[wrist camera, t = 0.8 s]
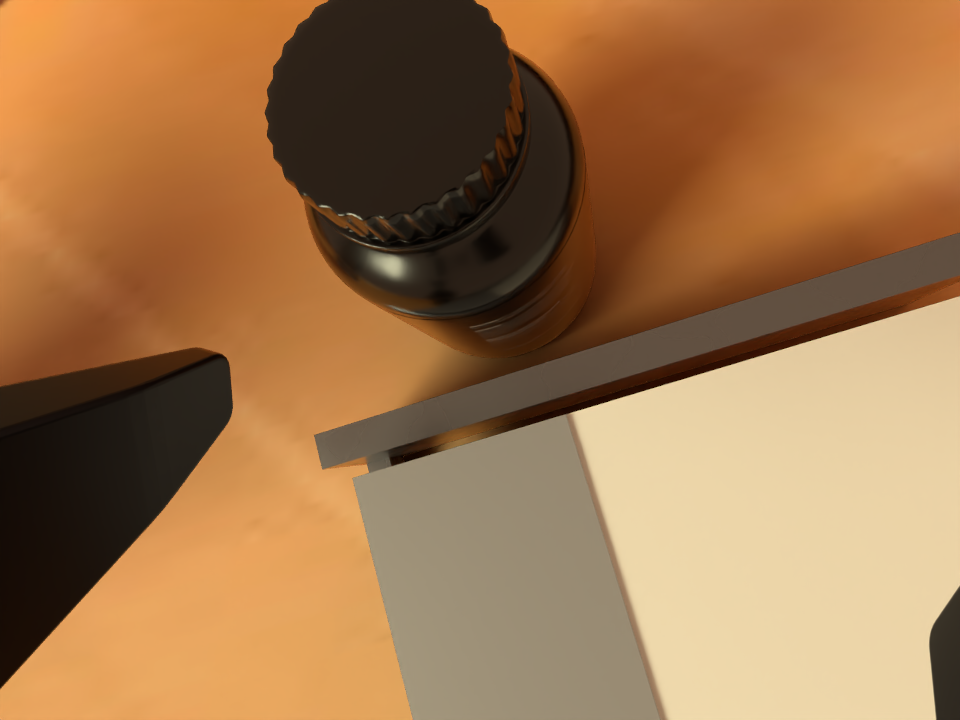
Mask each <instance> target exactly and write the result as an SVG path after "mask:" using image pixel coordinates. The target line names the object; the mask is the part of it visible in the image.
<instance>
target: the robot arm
mask: <svg viewBox="0 0 960 720" xmlns="http://www.w3.org/2000/svg"><path fill="white" fill-rule="evenodd" d="M232 409H233V401H232V389H231V377H230V366H229V362H228V360H227V358H226V357H225V356H224V355H222V354H220V353H217V352H213V351H210V350H206V349H203V348H196V347H195V348H189V349H184V350H179V351H174V352H169V353H164V354H159V355H154V356H149V357H144V358H139V359H135V360H130V361H125V362H120V363H115V364H110V365H105V366H100V367H95V368H90V369H85V370H80V371H75V372H70V373H65V374H60V375H55V376H50V377H45V378H40V379H35V380H30V381H25V382H20V383H15V384H10V385H5V386H0V689H1V688H2V687H3V686H4V685H5V683H6V682H7V681H8V680H9V679H10V678H11V677H12V676H13V675H14V674H15V672H16V671H17V670H18V669H19V668H20V667H21V666H22V665H23V664H24V663H25V661H26V660H27V659H28V658H29V657H30V656H31V655H32V654H33V653H34V652H35V650H36V649H37V648H38V647H39V646H40V645H41V644H42V643H43V642H44V641H45V639H46V638H47V637H48V636H49V635H50V634H51V633H52V632H53V631H54V630H55V629H56V627H57V626H58V625H59V624H60V623H61V622H62V621H63V620H64V619H65V618H66V616H67V615H68V614H69V613H70V612H71V611H72V610H73V609H74V608H75V607H76V605H77V604H78V603H79V602H80V601H81V600H82V599H83V598H84V597H85V596H86V594H87V593H88V592H89V591H90V590H91V589H92V588H93V587H94V586H95V585H96V583H97V582H98V581H99V580H100V579H101V578H102V577H103V576H104V575H105V574H106V572H107V571H108V570H109V569H110V568H111V567H112V566H113V565H114V564H115V563H116V562H117V560H118V559H119V558H120V557H121V556H122V555H123V554H124V553H125V552H126V551H127V549H128V548H129V547H130V546H131V545H132V544H133V543H134V542H135V541H136V540H137V538H138V537H139V536H140V535H141V534H142V533H143V532H144V531H145V530H146V529H147V527H148V526H149V525H150V524H151V523H152V522H153V521H154V520H155V518H156V517H157V516H158V515H159V514H160V513H161V511H162V510H163V509H164V508H165V507H166V505H167V504H168V503H169V501H170V500H171V499H172V498H173V496H174V495H175V494H176V492H177V491H178V490H179V488H180V487H181V486H182V484H183V483H184V482H185V480H186V479H187V478H188V476H189V475H190V474H191V472H192V471H193V470H194V468H195V467H196V465H197V464H198V463H199V461H200V460H201V459H202V457H203V456H204V455H205V453H206V452H207V451H208V449H209V448H210V447H211V445H212V444H213V443H214V441H215V440H216V439H217V437H218V436H219V434H220V433H221V432H222V430H223V429H224V428H225V426H226V425H227V423H228V422H229V419H230V417H231V414H232ZM929 652H930V663H931V673H932V683H933V694H934V704H935V714H936V720H960V586H959V587H958V589H957V590H956V592H955V593H954V594H953V596H952V597H951V599H950V600H949V602H948V603H947V605H946V606H945V608H944V609H943V610H942V612H941V613H940V615H939V616H938V618H937V619H936V621H935V622H934V624H933V626H932V629H931V632H930V637H929Z"/></svg>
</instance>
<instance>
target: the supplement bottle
mask: <svg viewBox="0 0 960 720" xmlns="http://www.w3.org/2000/svg"><path fill="white" fill-rule="evenodd" d="M267 95H268V99H269V102H268V104H267V107H266V110H265V115H266V119H267V121H268V123H269V124H268V131H267V137H268V139H269V140H270V142H271V143H272V144H273V156H274V159H275V161H276V162H277V163H278V164H279V165H280V166H281V167H282V169H283V173H284V177H285V179H286V180H287V181H288V182H289V183H290V184H291V185H292V186H293V187H295V188H296V189H297V190H298V192H299V194H300V196H301V197H302V198H303V199H304V204H305V210H306V215H307V219H308V223H309V227H310V230H311V233H312V235H313V238H314V240H315V243H316V245H317V247H318V249H319V251H320V252H321V254H322V256H323V257H324V259H325V260H326V262H327V264H328V265H329V266H330V268H331V269H332V270H333V271H334V273H335V274H336V275H337V276H338V277H339V278H340V279H341V280H342V281H343V282H344V283H345V284H346V285H347V286H349V287H350V288H351V289H352V290H353V291H355V292H356V293H357V294H358V295H360V296H361V297H363V298H364V299H366V300H367V301H369V302H371V303H372V304H374V305H376V306H378V307H379V308H381V309H383V310H385V311H386V312H388V313H390V314H392V315H393V316H395V317H397V318H399V319H401V320H402V321H404V322H406V323H408V324H409V325H411V326H413V327H415V328H417V329H418V330H420V331H422V332H424V333H425V334H427V335H429V336H431V337H433V338H434V339H436V340H438V341H440V342H442V343H443V344H445V345H447V346H449V347H451V348H453V349H455V350H458V351H460V352H463V353H466V354H469V355H473V356H478V357H484V358H506V357H513V356H518V355H522V354H525V353H528V352H531V351H533V350H536V349H538V348H540V347H542V346H544V345H545V344H547V343H549V342H550V341H552V340H553V339H555V338H556V337H557V336H558V335H560V334H561V333H562V332H563V331H564V330H565V329H566V328H567V327H568V326H569V325H570V324H571V323H572V322H573V320H574V319H575V318H576V317H577V315H578V314H579V312H580V311H581V309H582V307H583V305H584V303H585V302H586V300H587V297H588V295H589V292H590V290H591V286H592V283H593V278H594V273H595V265H596V247H595V236H594V227H593V219H592V211H591V202H590V194H589V186H588V177H587V169H586V161H585V153H584V147H583V143H582V139H581V135H580V131H579V127H578V125H577V122H576V119H575V116H574V114H573V112H572V109H571V107H570V105H569V103H568V102H567V100H566V98H565V97H564V95H563V93H562V92H561V91H560V89H559V88H558V87H557V85H556V84H555V83H554V82H553V80H552V79H551V78H550V77H549V76H548V75H547V74H546V73H545V72H544V71H543V70H542V69H541V68H540V67H538V66H537V65H536V64H535V63H534V62H532V61H531V60H529V59H528V58H526V57H525V56H523V55H522V54H520V53H518V52H516V51H514V50H513V49H511V48H509V47H508V45H507V41H506V38H505V34H504V32H503V30H502V29H501V28H500V27H499V26H498V25H497V24H496V23H494V22H493V19H492V16H491V13H490V12H489V10H488V9H487V8H485V7H483V6H481V5H479V4H477V3H476V1H475V0H328V2H326V3H324V4H321V5H319V6H317V7H315V9H314V10H313V12H312V14H311V15H310V17H309V18H308V19H306V20H304V21H303V22H301V23H300V24H299V25H298V26H297V28H296V31H295V33H294V36H293V37H292V38H291V39H289V40H288V41H287V42H286V43H285V44H284V47H283V50H282V56H281V57H280V59H279V60H278V61H277V63H276V64H275V65H274V67H273V79H272V81H271V83H270V85H269V87H268V89H267Z"/></svg>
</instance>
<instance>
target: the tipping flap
mask: <svg viewBox="0 0 960 720" xmlns="http://www.w3.org/2000/svg"><path fill="white" fill-rule="evenodd" d="M353 482H354V486H355V490H356V494H357V498H358V502H359V506H360V510H361V514H362V518H363V522H364V526H365V530H366V534H367V538H368V542H369V546H370V550H371V554H372V558H373V562H374V566H375V570H376V574H377V578H378V582H379V586H380V590H381V594H382V598H383V602H384V606H385V610H386V614H387V618H388V622H389V626H390V630H391V634H392V638H393V642H394V646H395V650H396V654H397V658H398V662H399V666H400V670H401V674H402V678H403V682H404V686H405V690H406V694H407V698H408V702H409V706H410V710H411V714H412V718H413V720H936V714H935V704H934V694H933V683H932V673H931V663H930V652H929V637H930V632H931V629H932V626H933V624H934V622H935V621H936V619H937V618H938V616H939V615H940V613H941V612H942V610H943V609H944V608H945V606H946V605H947V603H948V602H949V600H950V599H951V597H952V596H953V594H954V593H955V592H956V590H957V589H958V587H959V586H960V296H959V297H956V298H952V299H949V300H946V301H942V302H939V303H936V304H932V305H929V306H926V307H922V308H919V309H916V310H912V311H909V312H906V313H902V314H899V315H896V316H892V317H889V318H886V319H882V320H879V321H876V322H872V323H869V324H866V325H862V326H859V327H856V328H852V329H849V330H846V331H842V332H839V333H836V334H832V335H829V336H826V337H822V338H819V339H816V340H812V341H809V342H806V343H802V344H799V345H796V346H792V347H789V348H786V349H782V350H779V351H776V352H772V353H769V354H766V355H762V356H759V357H756V358H752V359H749V360H746V361H742V362H739V363H736V364H732V365H729V366H726V367H722V368H719V369H716V370H712V371H709V372H706V373H702V374H699V375H696V376H692V377H689V378H686V379H682V380H679V381H676V382H672V383H669V384H666V385H662V386H659V387H656V388H652V389H649V390H646V391H642V392H639V393H636V394H632V395H629V396H626V397H622V398H619V399H616V400H612V401H609V402H606V403H602V404H599V405H596V406H592V407H589V408H586V409H582V410H579V411H576V412H572V413H569V414H565V415H561V416H558V417H555V418H551V419H548V420H545V421H541V422H538V423H535V424H531V425H528V426H525V427H521V428H518V429H515V430H511V431H508V432H505V433H501V434H498V435H495V436H491V437H488V438H485V439H481V440H478V441H475V442H471V443H468V444H465V445H461V446H458V447H455V448H451V449H448V450H445V451H441V452H438V453H435V454H431V455H428V456H425V457H421V458H418V459H415V460H411V461H408V462H405V463H401V464H398V465H395V466H391V467H388V468H385V469H381V470H378V471H375V472H371V473H368V474H365V475H361V476H358V477H355V478H353Z"/></svg>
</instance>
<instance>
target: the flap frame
mask: <svg viewBox="0 0 960 720" xmlns="http://www.w3.org/2000/svg"><path fill="white" fill-rule="evenodd" d="M959 281H960V233H957V234H954V235H950V236H947V237H944V238H941V239H938V240H934V241H931V242H928V243H925V244H922V245H919V246H915V247H912V248H909V249H906V250H903V251H899V252H896V253H893V254H890V255H887V256H883V257H880V258H877V259H874V260H871V261H868V262H864V263H861V264H858V265H855V266H852V267H848V268H845V269H842V270H839V271H836V272H832V273H829V274H826V275H823V276H820V277H817V278H813V279H810V280H807V281H804V282H801V283H797V284H794V285H791V286H788V287H785V288H781V289H778V290H775V291H772V292H769V293H766V294H762V295H759V296H756V297H753V298H750V299H746V300H743V301H740V302H737V303H734V304H730V305H727V306H724V307H721V308H718V309H715V310H711V311H708V312H705V313H702V314H699V315H695V316H692V317H689V318H686V319H683V320H679V321H676V322H673V323H670V324H667V325H664V326H660V327H657V328H654V329H651V330H648V331H644V332H641V333H638V334H635V335H632V336H628V337H625V338H622V339H619V340H616V341H613V342H609V343H606V344H603V345H600V346H597V347H593V348H590V349H587V350H584V351H581V352H577V353H574V354H571V355H568V356H565V357H562V358H558V359H555V360H552V361H549V362H546V363H542V364H539V365H536V366H533V367H530V368H526V369H523V370H520V371H517V372H514V373H511V374H507V375H504V376H501V377H498V378H495V379H491V380H488V381H485V382H482V383H479V384H476V385H472V386H469V387H466V388H463V389H460V390H456V391H453V392H450V393H447V394H444V395H440V396H437V397H434V398H431V399H428V400H425V401H421V402H418V403H415V404H412V405H409V406H405V407H402V408H399V409H396V410H393V411H389V412H386V413H383V414H380V415H377V416H374V417H370V418H367V419H364V420H361V421H358V422H354V423H351V424H348V425H345V426H342V427H338V428H335V429H332V430H329V431H326V432H323V433H319V434H316V435H314V437H315V441H316V445H317V449H318V453H319V457H320V461H321V466H322V469H331V468H339V467H348V466H356V465H365V464H367V466H368V470H369V473H371V472H375V471H378V470H381V469H385V468H388V467H391V466H395V465H398V464H401V463H405V462H404V458H403V456H405V455H409V454H412V453H415V452H419V451H422V450H425V449H429V448H432V447H435V446H438V445H442V444H445V443H448V442H452V441H455V440H458V439H462V438H465V437H468V436H472V435H475V434H478V433H482V432H485V431H488V430H492V429H495V428H498V427H501V426H505V425H508V424H511V423H515V422H518V421H521V420H525V419H528V418H531V417H535V416H538V415H541V414H545V413H548V412H551V411H554V410H558V409H561V408H564V407H568V406H571V405H574V404H578V403H581V402H584V401H588V400H591V399H594V398H598V397H601V396H604V395H608V394H611V393H614V392H617V391H621V390H624V389H627V388H631V387H634V386H637V385H641V384H644V383H647V382H651V381H654V380H657V379H661V378H664V377H667V376H670V375H674V374H677V373H680V372H684V371H687V370H690V369H694V368H697V367H700V366H704V365H707V364H710V363H714V362H717V361H720V360H724V359H727V358H730V357H733V356H737V355H740V354H743V353H747V352H750V351H753V350H757V349H760V348H763V347H767V346H770V345H773V344H777V343H780V342H783V341H786V340H790V339H793V338H796V337H800V336H803V335H806V334H810V333H813V332H816V331H820V330H823V329H826V328H830V327H833V326H836V325H840V324H843V323H846V322H849V321H853V320H856V319H859V318H863V317H866V316H869V315H873V314H876V313H879V312H883V311H886V310H889V309H893V308H896V307H899V306H902V305H906V304H909V303H911V302H913V301H916V300H918V299H920V298H922V297H925V296H927V295H929V294H931V293H934V292H936V291H938V290H941V289H943V288H945V287H947V286H950V285H952V284H954V283H956V282H959Z"/></svg>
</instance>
